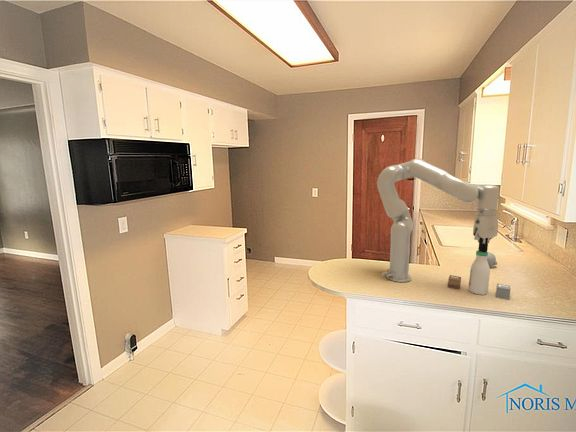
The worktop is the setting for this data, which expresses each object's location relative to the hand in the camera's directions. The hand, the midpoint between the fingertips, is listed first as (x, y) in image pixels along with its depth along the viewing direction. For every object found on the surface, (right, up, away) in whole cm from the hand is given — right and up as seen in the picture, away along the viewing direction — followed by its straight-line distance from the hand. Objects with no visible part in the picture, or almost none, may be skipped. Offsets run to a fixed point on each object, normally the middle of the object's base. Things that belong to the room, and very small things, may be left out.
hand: (482, 251), depth 139 cm
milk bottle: (0, -20, +4) cm, 20 cm away
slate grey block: (+8, -21, -1) cm, 22 cm away
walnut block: (-8, -19, +9) cm, 23 cm away
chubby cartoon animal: (+25, -14, +36) cm, 45 cm away
